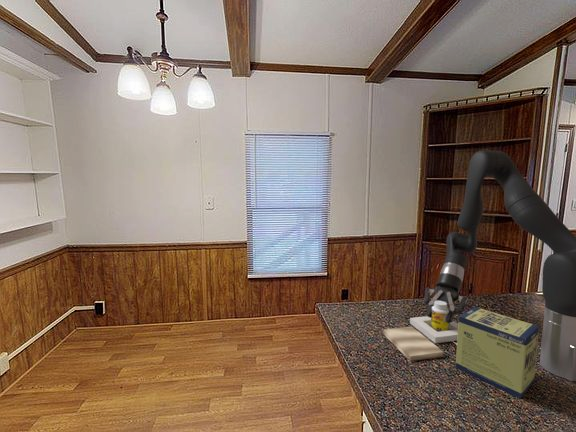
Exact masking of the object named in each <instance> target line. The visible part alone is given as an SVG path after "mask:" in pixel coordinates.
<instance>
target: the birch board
mask: <svg viewBox="0 0 576 432" xmlns="http://www.w3.org/2000/svg"><path fill="white" fill-rule="evenodd" d="M382 334H383V335H384V336H385V337H386V338H387V339H388V341H390V342H391V343H392V344H393V346H395V348H397V349H398V350H399V351H400V352H401V354H403V355H404V357H405V358H407V359H408V360H409V361H410V362H411V361H420V360H428V359H436V358H441V357H442V358H443V357H444V351H443V350H442V349H441V348H439V347H438V346H437V345H435V343H434V342H433V341H432V340H430V339H429V338H428V337H427V336H426V335H424V334H423V333H422V332H421V331H419V330H418V329H417V328H415V327H414V326H413V325H411V326H405V327H404V326H403V327H393V328H385V329H383V330H382Z"/></svg>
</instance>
